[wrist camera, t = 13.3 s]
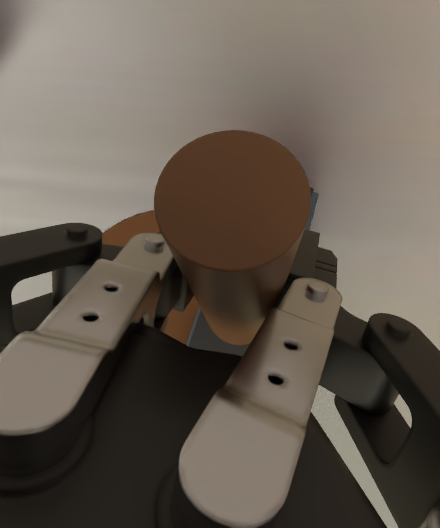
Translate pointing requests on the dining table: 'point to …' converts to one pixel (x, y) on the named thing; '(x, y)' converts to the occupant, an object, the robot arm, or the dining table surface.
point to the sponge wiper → (233, 230)
